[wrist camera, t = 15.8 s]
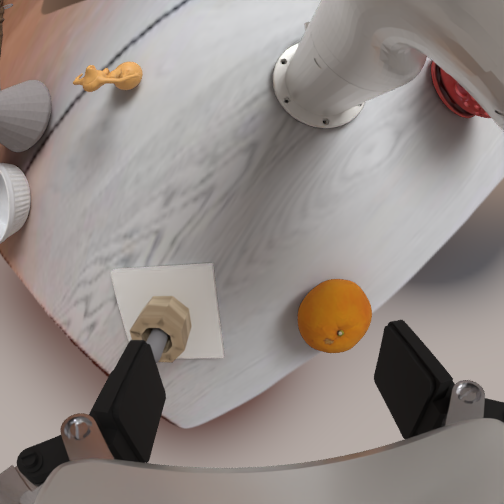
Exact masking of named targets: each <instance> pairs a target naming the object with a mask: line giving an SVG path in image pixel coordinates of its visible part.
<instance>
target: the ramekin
mask: <svg viewBox="0 0 504 504" xmlns="http://www.w3.org/2000/svg"><path fill="white" fill-rule="evenodd" d="M30 203H31V195H30V188H29V184H28V181H27V179H26V177H25V175H24V173H23V172H22V170H20V169H19V168H18V167H17V166H15V165H13V164H8V163H0V243H2V242H3V241H4V240H5V239H6V238H8V237H9V236H11V235H12V234H14V233H15V232H17V231H18V230H19V229H20V228H21V227H22V226H23V225H24V223H25V221H26V219H27V217H28V214H29V210H30Z"/></svg>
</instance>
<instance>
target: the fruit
mask: <svg viewBox="0 0 504 504" xmlns="http://www.w3.org/2000/svg"><path fill="white" fill-rule="evenodd" d="M371 317H372V310H371V305H370V303H369V300H368V299H367V297H366V295H365V293H364V292H363V291H362V289H361V288H360V287H359V286H358V285H357V284H355V283H354V282H352V281H348V280H343V279H331V280H327V281H324V282H322V283H320V284H319V285H317V286H316V287H315V288H313V289H312V290H311V291H310V292H309V293H308V294H307V295H306V297H305V298H304V299H303V301H302V303H301V305H300V307H299V310H298V327H299V331H300V333H301V336H302V337H303V339H304V340H305V342H306V343H307V344H308V345H309V346H311V347H312V348H314V349H316V350H319V351H323V352H327V353H339V352H344V351H347V350H349V349H351V348H352V347H353V346H355V345H356V344H357V343H358V342H359V341H360V339H361V338H362V337H363V336H364V335H365V333H366V331H367V330H368V327H369V325H370V322H371Z"/></svg>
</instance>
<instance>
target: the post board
mask: <svg viewBox="0 0 504 504" xmlns="http://www.w3.org/2000/svg"><path fill="white" fill-rule="evenodd" d="M110 274H111V278H112V283H113V287H114V291H115V295H116V299H117V303H118V307H119V310H120V314H121V318H122V321H123V325H124V328H125V331H126V335H127V338H128V341H129V342H130V340H132V338H131V335H130V329H131V327H132V326H133V324H134V322H135V321H136V319H137V318H138V316H139V314H140V313H141V311H142V310H143V308H144V307H145V306H146V305H147V303H148V302H149V301H150V300H151V298H152V297H153V296H173V297H175V298H176V299H177V300H178V301H180V302H181V303H182V304H183V305H185V306H186V307H187V308H189V313H190V319H191V325H192V327H191V330H190V333H189V337H188V340H187V344H186V347H185V351H184V352H183V353H182V354H180V355H179V356H178V357H177V358H178V359H193V358H224V346H223V339H222V331H221V324H220V316H219V308H218V300H217V291H216V283H215V274H214V265H213V263H203V264H186V265H169V266H152V267H134V268H116V269H113V270H112V271H111V272H110ZM168 337H169V335H168V334H167V333H166V332H164V331H163V330H162V329H160V328H153V329H152V331H151V333H150V335H149V337H148V339H147V341H146V343H147V344H150V345H151V348H152V352H153V355H154V359H155V362H158V361H159V360H160V358H161V356H162V353H163V350H164V348H165V345H166V343H167V340H168Z"/></svg>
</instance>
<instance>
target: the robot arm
mask: <svg viewBox="0 0 504 504" xmlns="http://www.w3.org/2000/svg"><path fill="white" fill-rule="evenodd" d="M304 25H305V33H304V35H303V37H302V39H301V41H300V43H297V44H295V45H293V46H291V47H289V48H288V49H287V50H285V51H284V52H283V53H282V55H281V56H280V57H279V59H278V60H277V62H276V64H275V67H274V71H273V78H272V79H273V88H274V91H275V95H276V97H277V99H278V101H279V103H280V104H281V105H282V107H283V108H284V109H285V110H286V111H287V112H288V113H289V114H290V115H291V116H292V117H294V118H295V119H297V120H298V121H300V122H302V123H304V124H306V125H309V126H313V127H317V128H334V127H338V126H341V125H344V124H346V123H348V122H350V121H351V120H353V119H354V118H355V117H356V116H357V115H358V114H359V113H360V112H361V110H362V108H363V107H364V104H365V102H366V101H368V100H370V99H373V98H375V97H377V96H380V95H382V94H384V93H387V92H389V91H392V90H394V89H396V88H398V87H401V86H403V85H405V84H407V83H409V82H410V81H412V80H413V79H414V78H415V77H416V76H417V75H418V74H419V73H420V71H421V69H422V68H423V66H424V63H425V61H426V57H428V58H430V59H431V60H432V61H433V62H435V63H436V64H437V65H438V66H439V67H441V68H442V69H443V70H444V71H445V72H446V73H447V74H449V75H451V76H452V77H453V78H454V79H455V80H456V81H457V82H458V83H459V84H460V85H461V86H462V87H463V88H464V89H465V90H466V91H467V92H468V93H469V94H470V95H471V96H472V97H473V98H474V99H475V100H476V101H477V102H478V103H479V105H480V106H481V107H482V108H483V109H484V110H485V111H486V112H487V114H488V115H489V116H490V117H491V118H492V119H493V120H494V121H495V123H496V124H497V125H498V126H499V127H500V128H501V129H502V130H503V132H504V0H321V2H320V4H319V6H318V8H317V10H316V12H315V14H314V15H313V17H312V19H311V21H310V22H307V23H305V24H304ZM281 62H284V63H285V64H282V63H281ZM284 100H287V101H288V103H285V102H284ZM357 105H358V106H357ZM323 121H325V122H326V124H323ZM374 380H375V384H376V385H377V387H378V389H379V391H380V393H381V395H382V397H383V399H384V401H385V403H386V405H387V406H388V408H389V410H390V412H391V414H392V416H393V418H394V420H395V422H396V424H397V426H398V428H399V430H400V432H401V434H402V436H403V438H404V439H405V440H402V441H399V442H395V443H392V444H389V445H385V446H382V447H378V448H375V449H371V450H367V451H363V452H359V453H354V454H349V455H345V456H340V457H335V458H329V459H324V460H318V461H311V462H304V463H297V464H288V465H278V466H266V467H248V468H200V467H182V466H169V465H158V464H149V463H147V462H148V461H149V459H150V455H151V451H152V447H153V443H154V439H155V436H156V432H157V428H158V425H159V421H160V417H161V414H162V410H163V406H164V403H165V399H166V394H165V390H164V387H163V384H162V381H161V378H160V375H159V372H158V368H157V365H156V362H155V359H154V355H153V352H152V348H151V345H150V344H147V343H146V341H145V340H130V342H129V343H128V345H127V347H126V349H125V351H124V352H123V354H122V356H121V358H120V360H119V361H118V363H117V365H116V367H115V369H114V371H112V372H111V374H110V375H109V377H108V379H107V381H106V383H105V385H104V387H103V389H102V390H101V392H100V394H99V396H98V398H97V400H96V402H95V404H94V406H93V408H92V410H91V412H90V414H89V415H87V414H74V415H72V416H70V417H68V418H67V419H66V420H65V421H64V422H63V424H62V426H61V435H59V436H57V437H55V438H52V439H50V440H47V441H45V442H42V443H40V444H37V445H35V446H32V447H29V448H27V449H25V450H23V451H22V452H21V453H20V455H19V456H18V459H17V466H16V467H14V466H13V465H12V466H10V467H9V468H8V469H6V470H5V471H3V472H2V473H1V474H0V504H504V402H499V401H495V400H490V399H486V398H485V393H484V390H483V388H482V387H481V386H480V385H479V384H477V383H476V382H473V381H470V380H463V381H459V382H458V383H456V384H454V382H453V381H452V380H453V378H452V377H451V376H450V374H449V373H448V372H447V371H446V369H445V368H444V367H443V366H442V365H441V363H440V362H439V361H438V360H437V359H436V357H435V356H434V355H433V354H432V353H431V351H430V350H429V349H428V348H427V347H426V346H425V345H424V343H423V342H422V341H421V340H420V339H419V337H418V336H417V335H416V334H415V333H414V332H413V331H412V330H411V328H410V327H409V326H408V325H407V324H406V323H405V322H404V321H403V320H398V321H392V322H389V324H388V326H385V328H384V333H383V338H382V343H381V348H380V353H379V357H378V362H377V366H376V370H375V374H374Z"/></svg>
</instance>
